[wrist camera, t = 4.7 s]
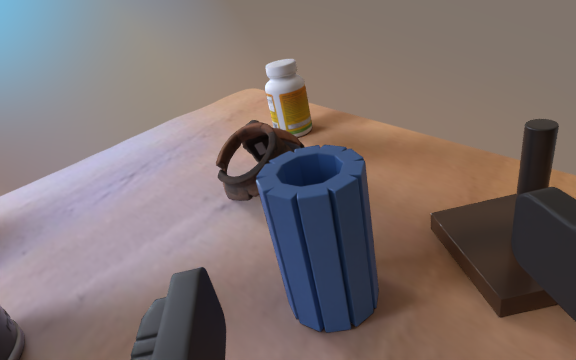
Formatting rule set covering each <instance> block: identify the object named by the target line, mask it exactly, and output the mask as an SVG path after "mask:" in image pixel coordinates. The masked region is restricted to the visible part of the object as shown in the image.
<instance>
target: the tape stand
mask: <svg viewBox="0 0 576 360" xmlns="http://www.w3.org/2000/svg"><path fill="white" fill-rule="evenodd" d="M558 127H559V126H558V123H557V122H555V121H552V120H547V119H535V120H530V121H528V122H526V124H525V128H524V137H523V145H522V153H521V161H520V170H519V178H518V186H517V194H513V195H509V196H505V197H500V198H496V199H491V200H487V201H483V202H478V203H474V204H469V205H465V206H461V207H456V208H452V209H447V210H443V211H439V212H434V213H431V229H432V230H433V232H434V233H435V234H436V235H437V237H438V238H439V239H440V241H441V242H442V243H443V245H444V246H445V247H446V248H447V250H448V251H449V252H450V254H451V255H452V256H453V258H454V259H455V260H456V261H457V263H458V264H459V265H460V267H461V268H462V269H463V271H464V272H465V273H466V274H467V276H468V277H469V278H470V280H471V281H472V282H473V284H474V285H475V286H476V287H477V289H478V290H479V291H480V293H481V294H482V295H483V297H484V298H485V299H486V300H487V302H488V303H489V304H490V306H491V307H492V308H493V310H494V311H495V312H496V313H497V315H498V316H499V317H503V316H508V315H512V314H516V313H521V312H525V311H530V310H534V309H538V308H543V307H547V306H551V305H556V304H558V303H557V302H556V301H555V300H554V299H553V298H552V297H551V296H550V295H549V294H548V293H547V292H546V291H545V290H544V289H543V288H542V287H541V286H540V285H539V284H538V283H537V282H536V281H535V280H534V279H533V278H532V277H531V276H530V275H529V274H528V273H527V272H526V271H525V270H524V269H523V268H522V267H521V266H520V265H519V263H518V262H517V260H516V258H515V256H514V254H513V251H512V245H511V240H512V231H513V221H514V212H515V203H516V199H517V197H518V196H519V195H520V194H523V193H527V192H531V191H536V190H540V189H544V188H548V186H549V180H550V174H551V169H552V163H553V157H554V151H555V145H556V139H557V133H558Z"/></svg>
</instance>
